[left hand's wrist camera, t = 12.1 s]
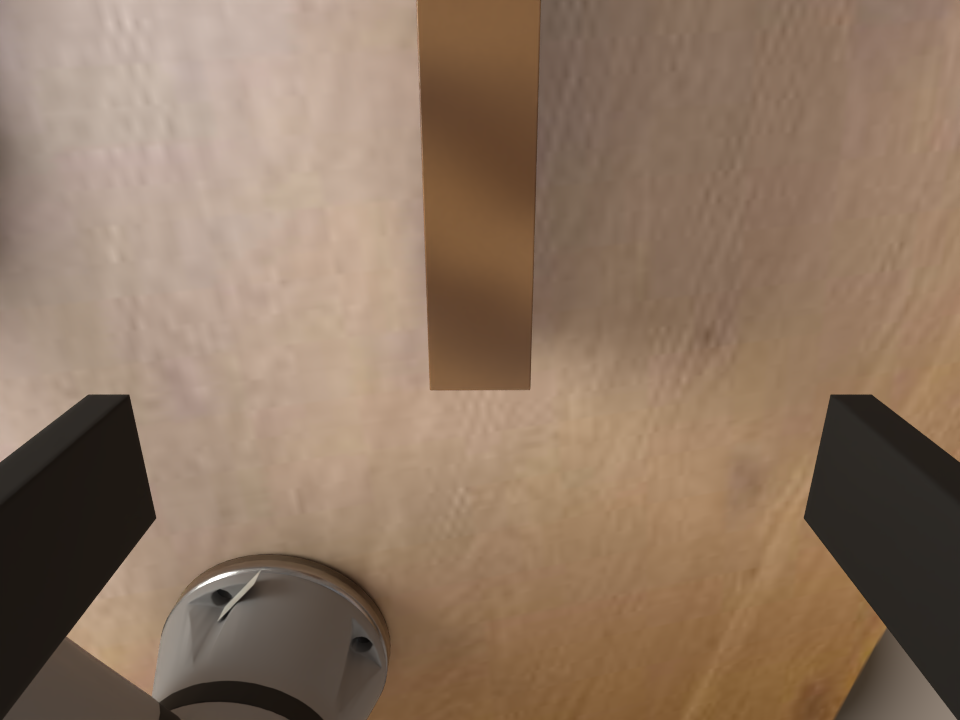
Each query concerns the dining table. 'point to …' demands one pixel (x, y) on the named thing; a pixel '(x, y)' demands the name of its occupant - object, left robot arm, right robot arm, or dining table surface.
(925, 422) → the dining table surface
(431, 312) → the post
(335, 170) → the dining table surface
